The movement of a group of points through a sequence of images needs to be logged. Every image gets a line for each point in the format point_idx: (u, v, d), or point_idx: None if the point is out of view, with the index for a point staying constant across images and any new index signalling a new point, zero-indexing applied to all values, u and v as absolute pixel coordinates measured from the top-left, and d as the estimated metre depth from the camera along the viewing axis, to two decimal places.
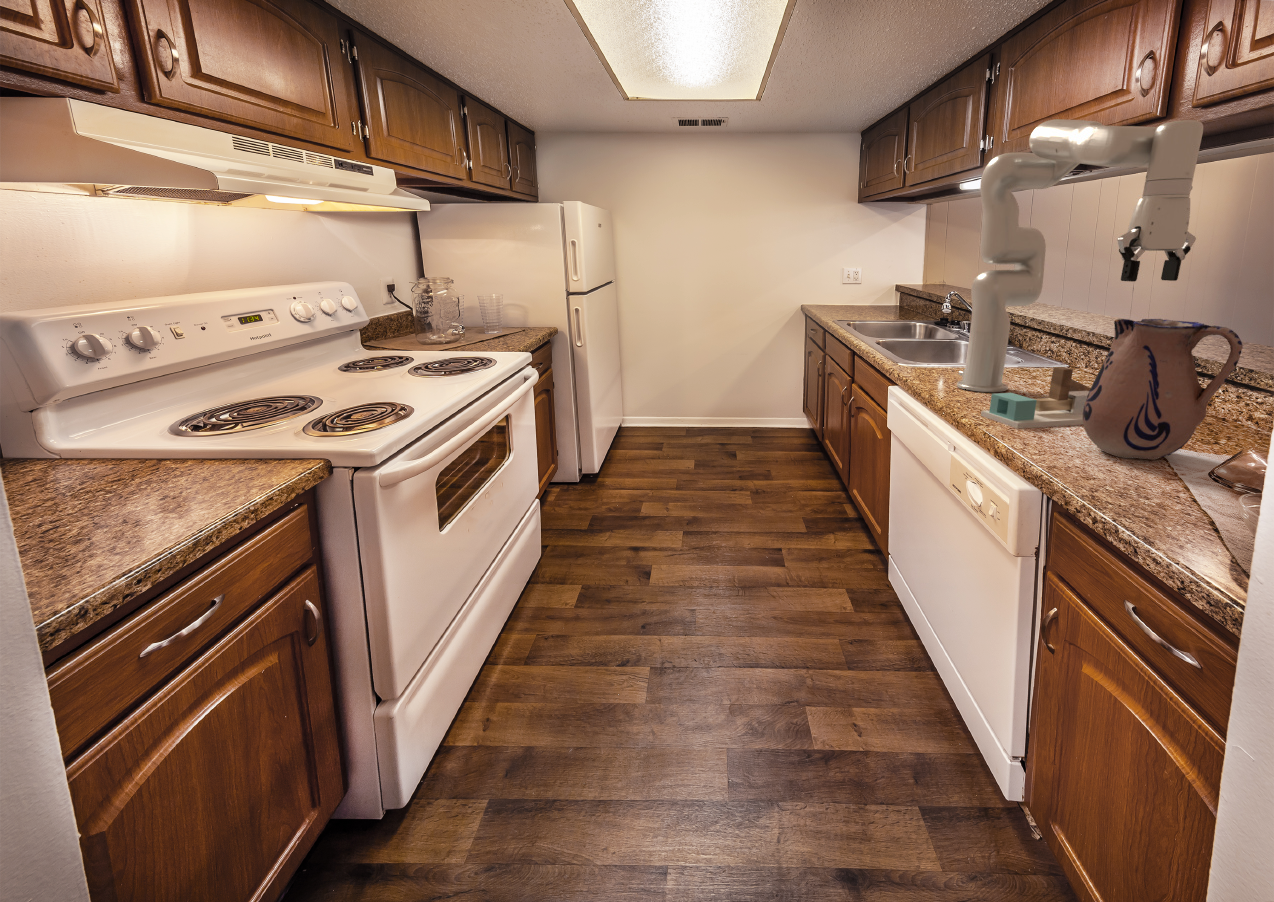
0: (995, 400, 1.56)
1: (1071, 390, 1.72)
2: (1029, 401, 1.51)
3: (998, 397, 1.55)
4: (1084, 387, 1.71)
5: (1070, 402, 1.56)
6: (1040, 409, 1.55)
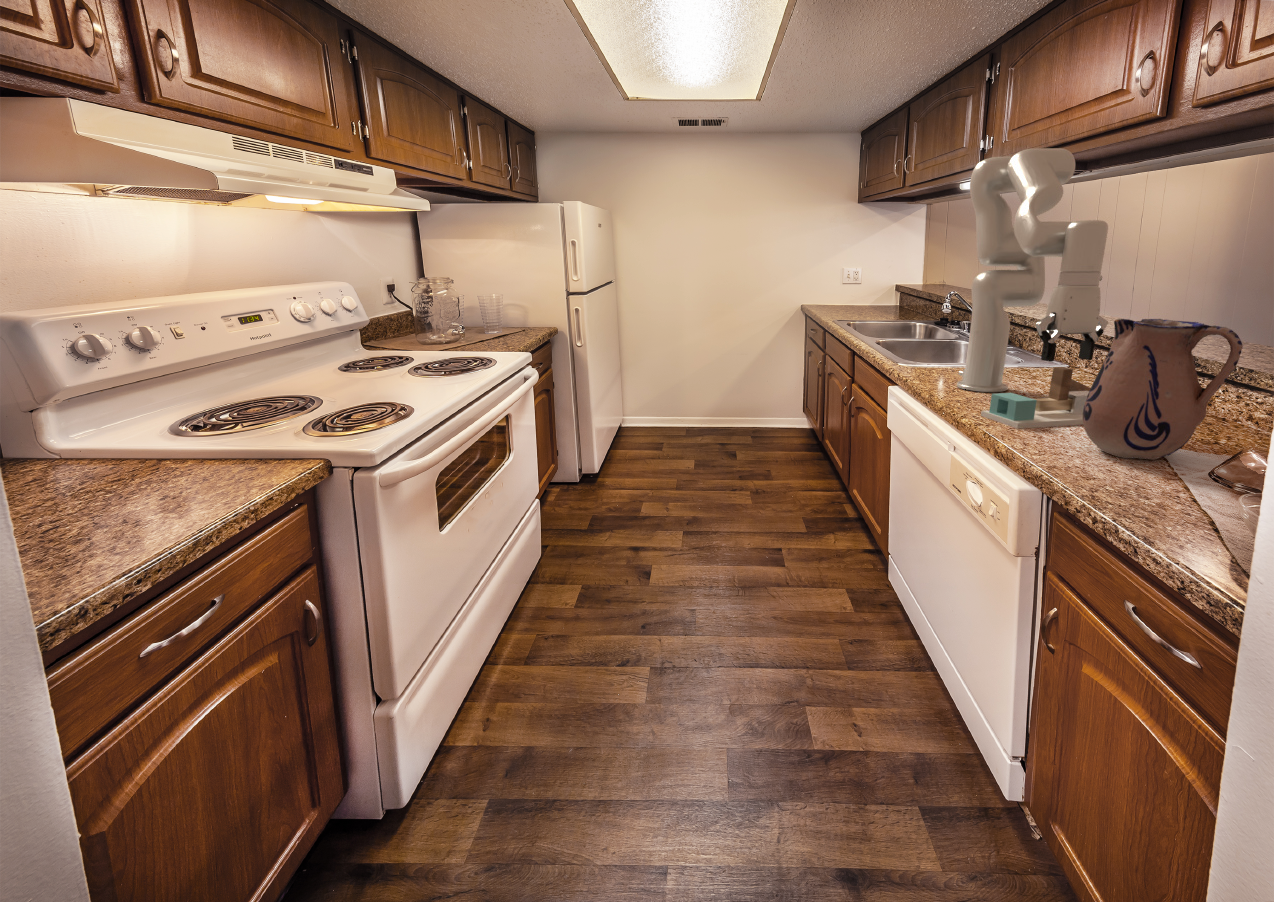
0: (995, 400, 1.56)
1: (1071, 390, 1.72)
2: (1029, 401, 1.51)
3: (998, 397, 1.55)
4: (1084, 387, 1.71)
5: (1070, 402, 1.56)
6: (1040, 409, 1.55)
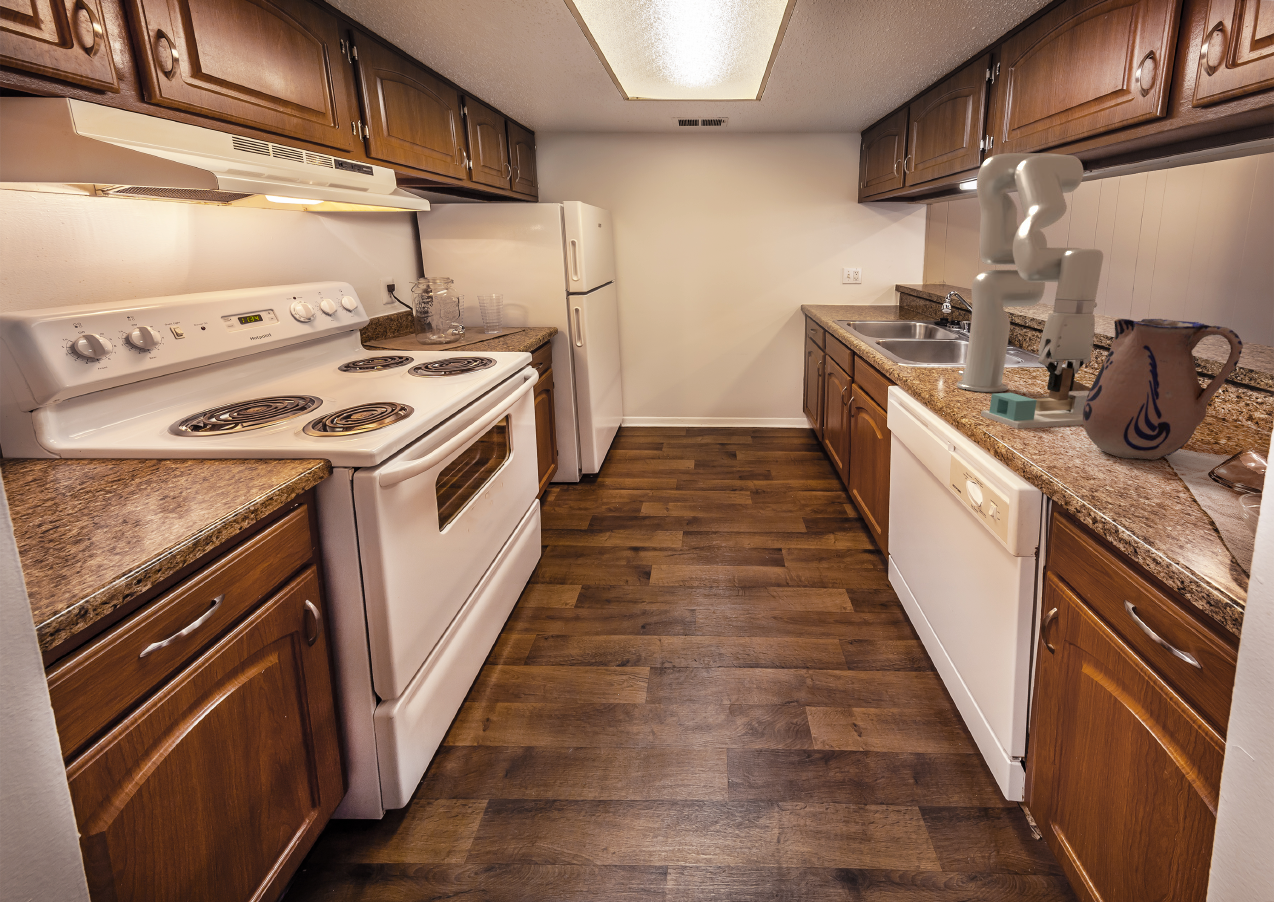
0: (995, 400, 1.56)
1: None
2: (1029, 401, 1.51)
3: (998, 397, 1.55)
4: (1084, 387, 1.71)
5: (1070, 402, 1.56)
6: (1040, 409, 1.55)
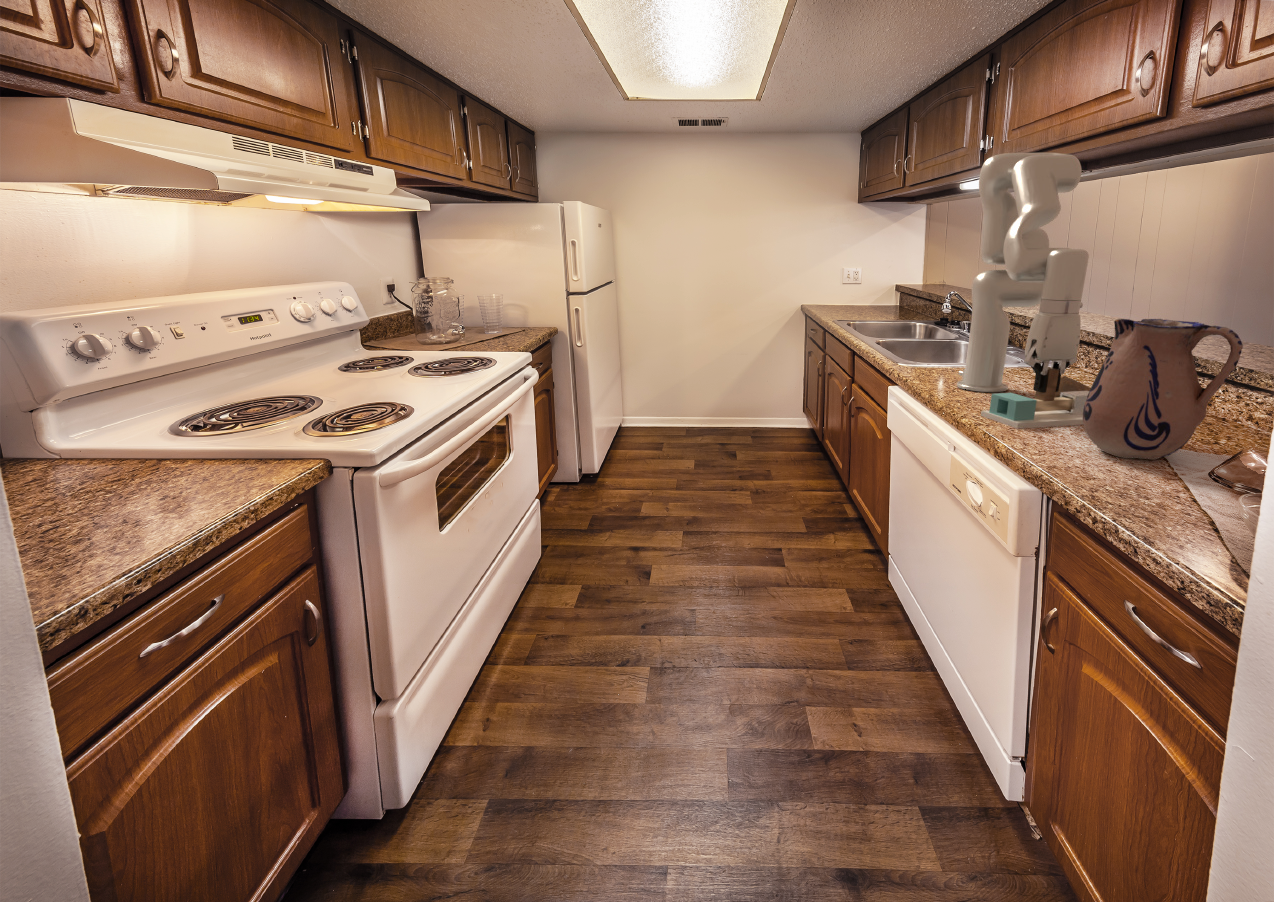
0: (995, 400, 1.56)
1: (1071, 390, 1.72)
2: (1029, 401, 1.51)
3: (998, 397, 1.55)
4: (1084, 387, 1.71)
5: (1057, 402, 1.55)
6: None
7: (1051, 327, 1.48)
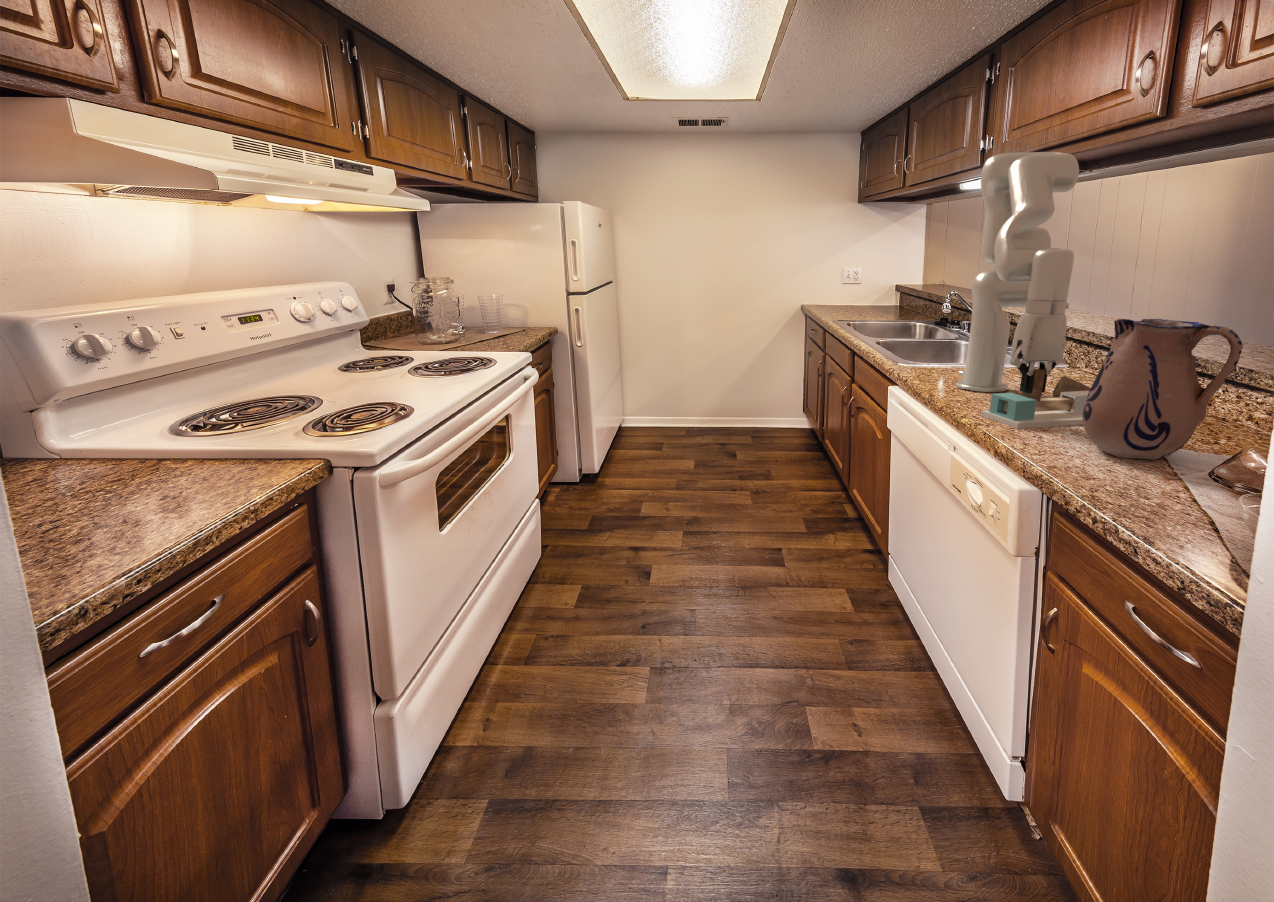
0: (995, 400, 1.56)
1: (1071, 390, 1.72)
2: (1029, 401, 1.51)
3: (998, 397, 1.55)
4: (1084, 387, 1.71)
5: (1043, 403, 1.55)
6: None
7: (1037, 327, 1.48)
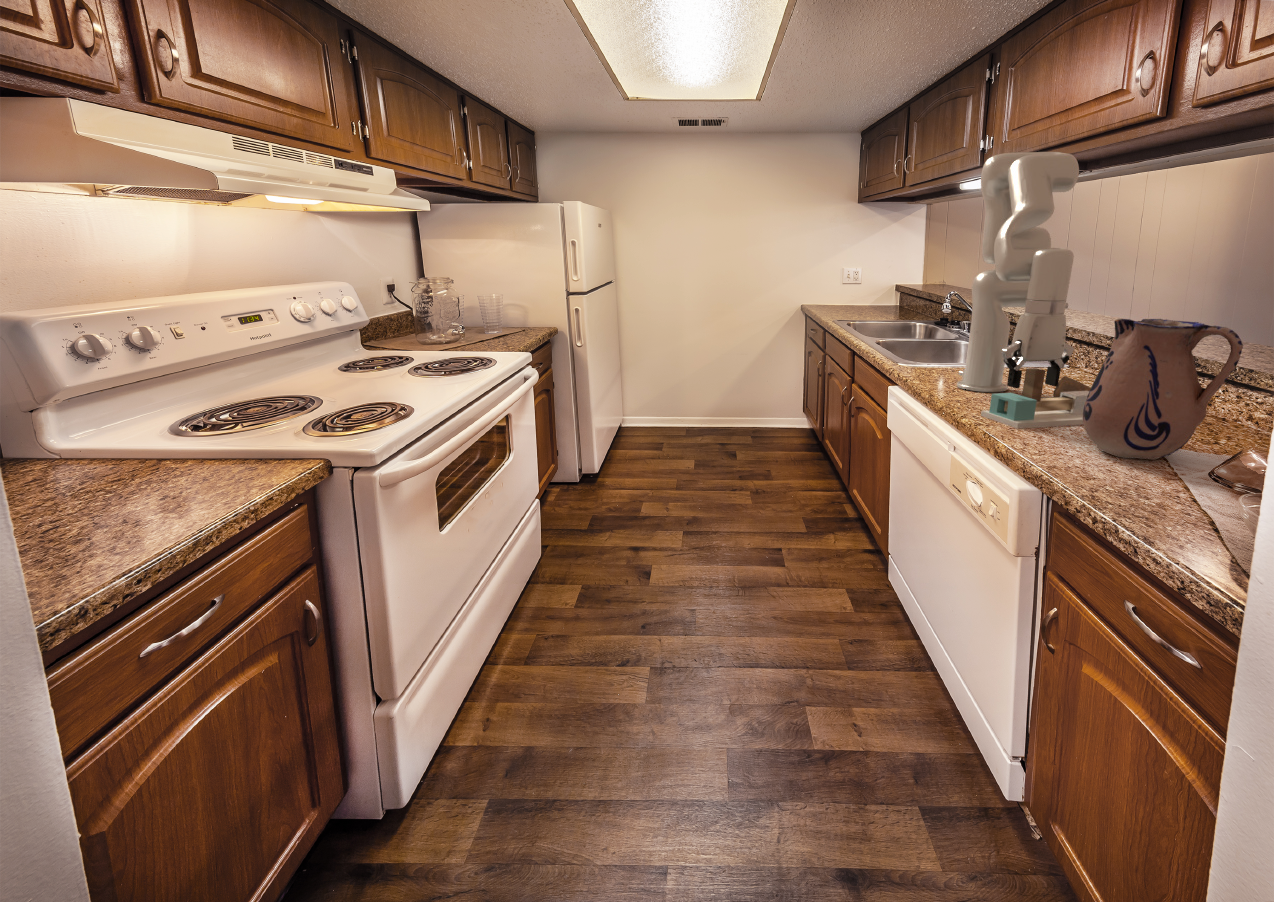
0: (995, 400, 1.56)
1: (1071, 390, 1.72)
2: (1029, 401, 1.51)
3: (998, 397, 1.55)
4: (1085, 387, 1.71)
5: (1043, 403, 1.55)
6: None
7: (1036, 327, 1.48)
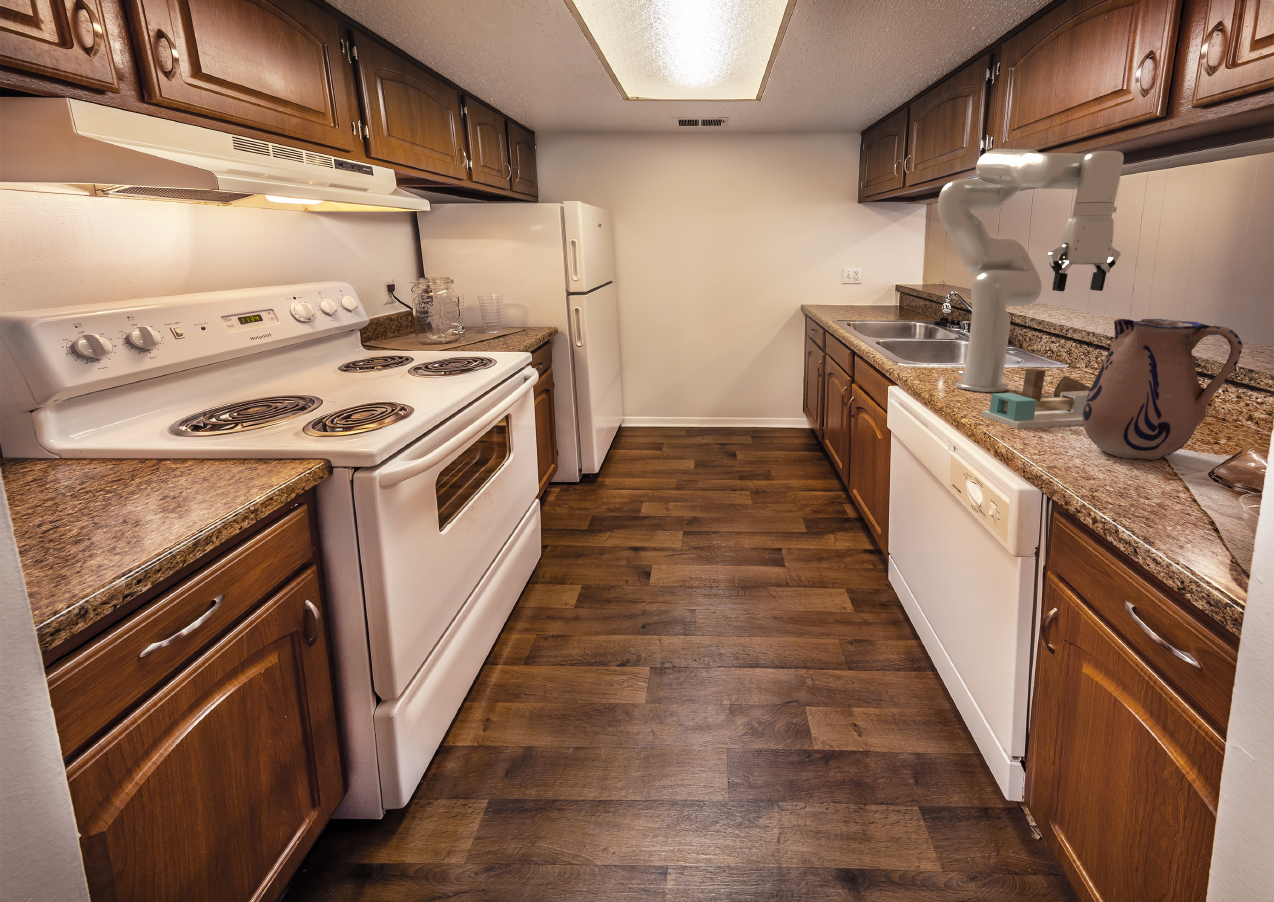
0: (995, 400, 1.56)
1: (1072, 390, 1.72)
2: (1029, 401, 1.51)
3: (998, 397, 1.55)
4: (1085, 387, 1.71)
5: (1043, 403, 1.55)
6: None
7: (1083, 230, 1.52)
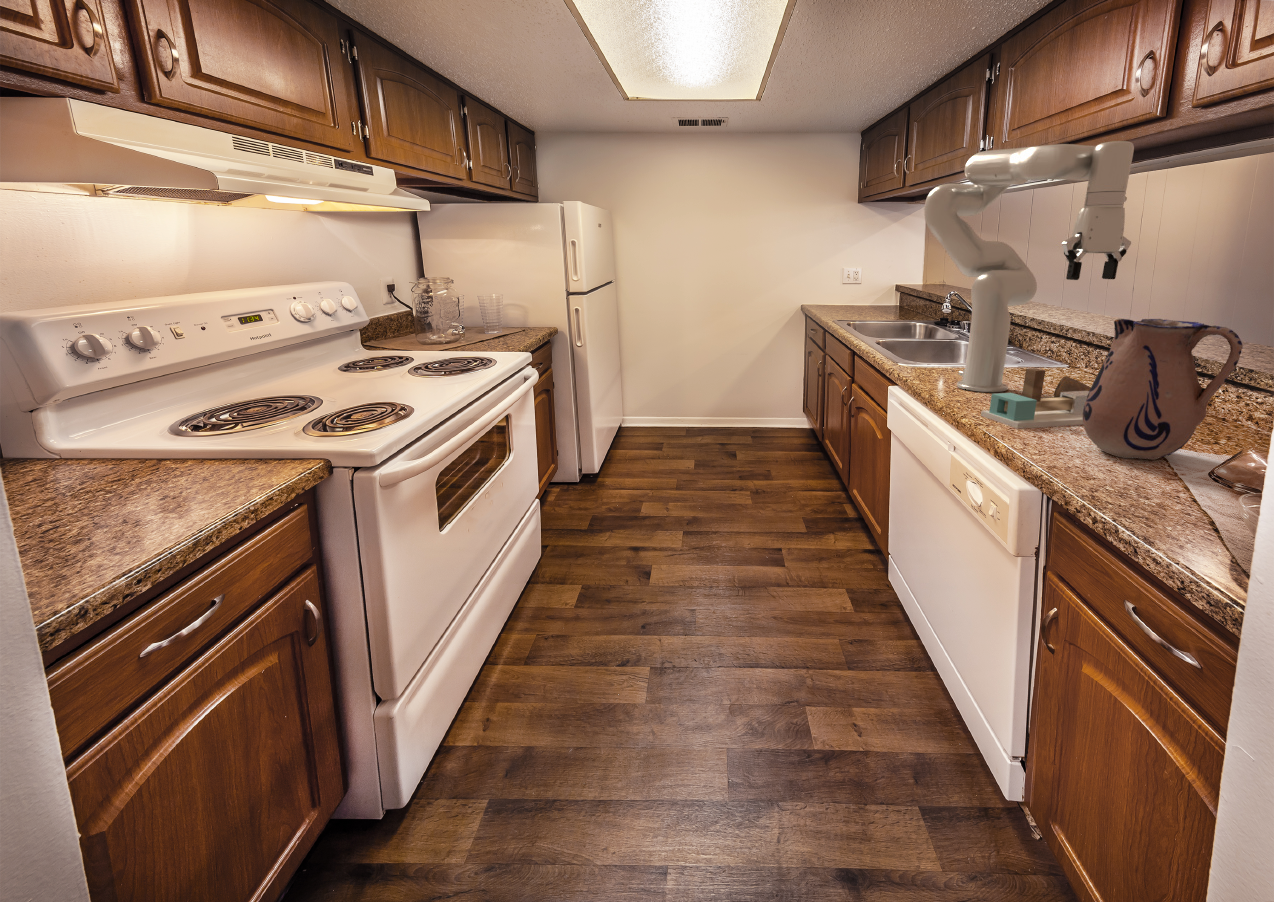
0: (995, 400, 1.56)
1: (1072, 390, 1.72)
2: (1029, 401, 1.51)
3: (998, 397, 1.55)
4: (1085, 387, 1.71)
5: (1043, 403, 1.55)
6: None
7: (1096, 219, 1.54)
